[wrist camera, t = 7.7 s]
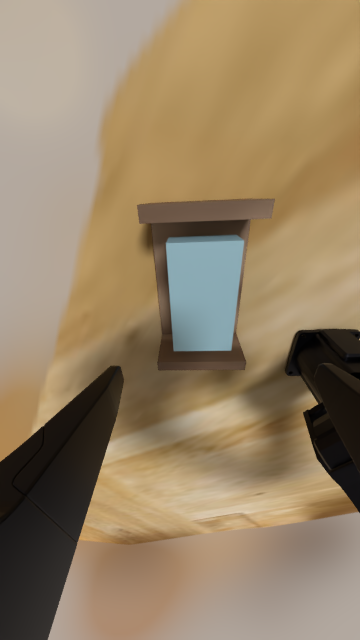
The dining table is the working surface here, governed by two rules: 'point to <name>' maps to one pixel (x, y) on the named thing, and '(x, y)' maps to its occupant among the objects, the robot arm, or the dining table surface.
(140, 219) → the cradle
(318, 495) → the dining table surface
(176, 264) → the block
